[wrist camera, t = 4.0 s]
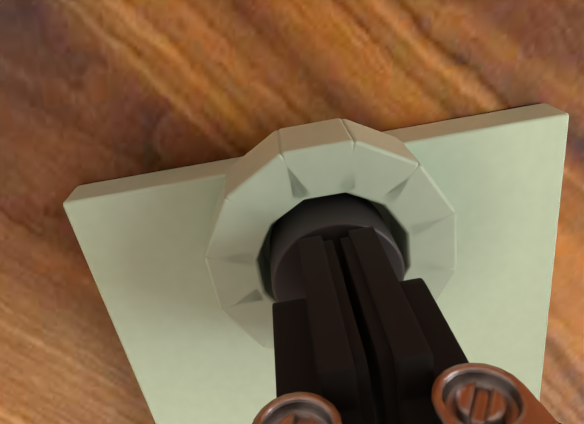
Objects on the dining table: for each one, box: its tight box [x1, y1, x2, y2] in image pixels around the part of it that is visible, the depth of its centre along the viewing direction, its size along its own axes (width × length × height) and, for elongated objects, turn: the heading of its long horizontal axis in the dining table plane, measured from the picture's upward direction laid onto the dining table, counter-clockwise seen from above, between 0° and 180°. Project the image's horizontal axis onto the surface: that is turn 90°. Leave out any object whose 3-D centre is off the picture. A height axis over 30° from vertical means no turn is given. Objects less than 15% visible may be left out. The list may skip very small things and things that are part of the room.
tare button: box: [270, 192, 405, 302], centre depth 11 cm, size 3×3×2 cm
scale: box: [63, 103, 569, 424], centre depth 15 cm, size 17×13×3 cm
